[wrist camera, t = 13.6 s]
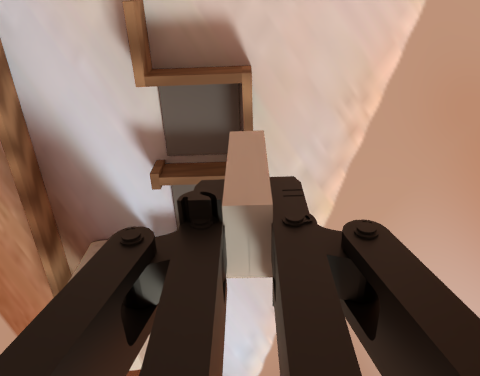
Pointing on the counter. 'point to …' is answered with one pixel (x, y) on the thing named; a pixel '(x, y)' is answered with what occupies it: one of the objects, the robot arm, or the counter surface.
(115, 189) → the counter surface
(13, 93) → the lane
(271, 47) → the counter surface
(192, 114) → the mats
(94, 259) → the robot arm
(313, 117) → the counter surface
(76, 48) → the counter surface
